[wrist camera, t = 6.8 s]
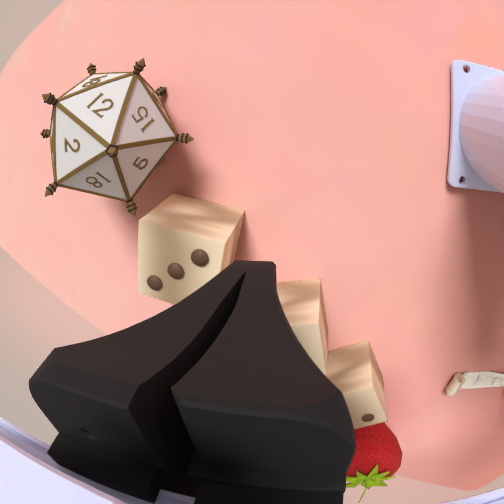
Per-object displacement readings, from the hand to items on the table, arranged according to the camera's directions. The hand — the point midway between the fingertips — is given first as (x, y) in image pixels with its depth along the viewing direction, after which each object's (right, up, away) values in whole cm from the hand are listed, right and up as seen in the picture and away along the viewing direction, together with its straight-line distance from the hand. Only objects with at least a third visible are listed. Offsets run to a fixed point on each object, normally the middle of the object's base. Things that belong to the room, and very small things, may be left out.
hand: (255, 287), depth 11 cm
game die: (-7, +10, +9) cm, 15 cm away
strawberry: (+12, -15, +18) cm, 26 cm away
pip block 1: (-3, +2, +12) cm, 12 cm away
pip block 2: (+8, -9, +15) cm, 19 cm away
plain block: (+3, -3, +13) cm, 14 cm away
